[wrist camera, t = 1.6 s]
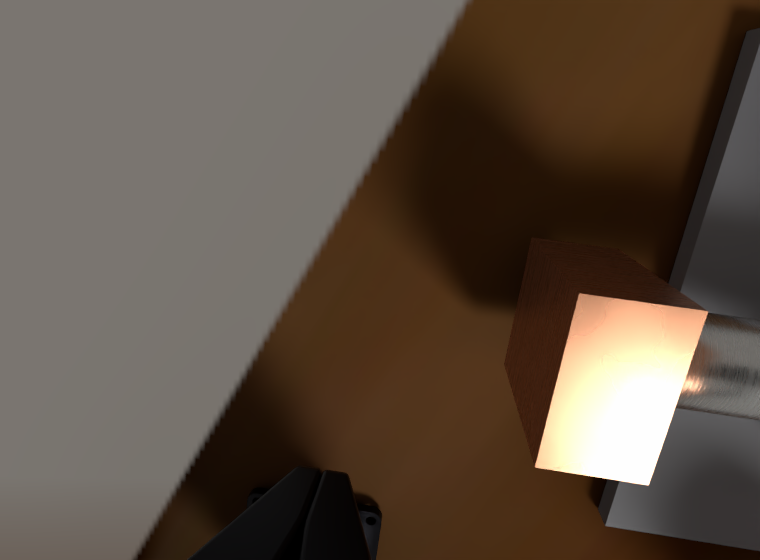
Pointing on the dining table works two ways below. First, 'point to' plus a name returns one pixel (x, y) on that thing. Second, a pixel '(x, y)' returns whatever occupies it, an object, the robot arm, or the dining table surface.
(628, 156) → the dining table surface
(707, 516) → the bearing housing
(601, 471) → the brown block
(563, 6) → the dining table surface
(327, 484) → the robot arm
